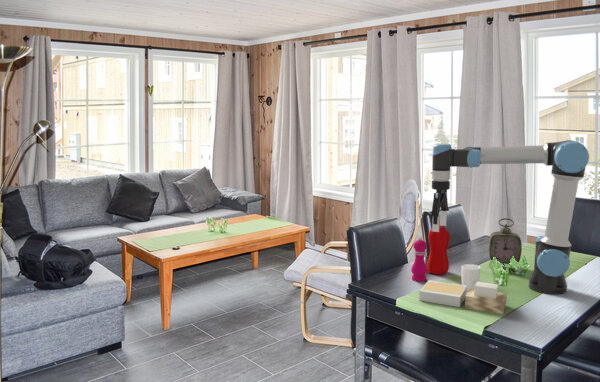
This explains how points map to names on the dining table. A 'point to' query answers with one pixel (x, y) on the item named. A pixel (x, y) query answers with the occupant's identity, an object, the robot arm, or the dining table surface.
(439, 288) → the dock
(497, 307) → the pallet
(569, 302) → the dining table surface
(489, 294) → the white block
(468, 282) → the white cup
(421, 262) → the pepper mill
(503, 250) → the tabletop clock
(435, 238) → the water bottle
